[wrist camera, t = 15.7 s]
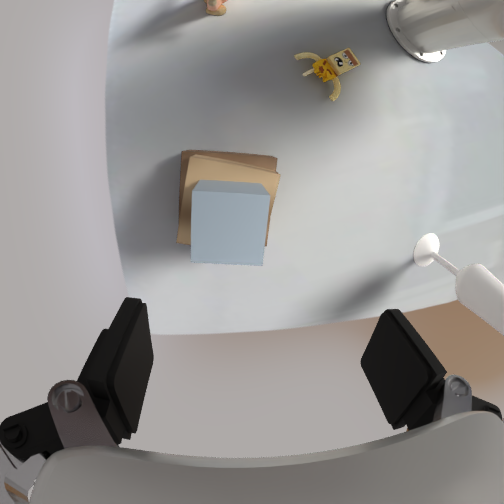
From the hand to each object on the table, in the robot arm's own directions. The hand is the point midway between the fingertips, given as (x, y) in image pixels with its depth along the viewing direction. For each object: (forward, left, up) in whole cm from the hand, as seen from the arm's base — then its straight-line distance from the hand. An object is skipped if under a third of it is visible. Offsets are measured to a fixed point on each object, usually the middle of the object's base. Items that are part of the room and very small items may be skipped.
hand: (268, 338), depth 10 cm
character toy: (-19, +9, -29) cm, 36 cm away
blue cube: (0, -1, -19) cm, 19 cm away
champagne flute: (+6, +35, -29) cm, 45 cm away
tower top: (0, -2, -24) cm, 24 cm away
